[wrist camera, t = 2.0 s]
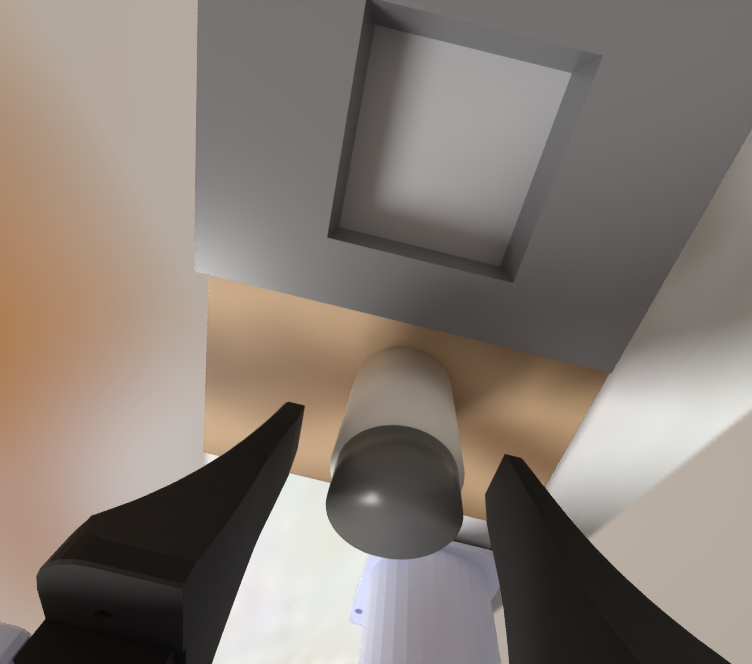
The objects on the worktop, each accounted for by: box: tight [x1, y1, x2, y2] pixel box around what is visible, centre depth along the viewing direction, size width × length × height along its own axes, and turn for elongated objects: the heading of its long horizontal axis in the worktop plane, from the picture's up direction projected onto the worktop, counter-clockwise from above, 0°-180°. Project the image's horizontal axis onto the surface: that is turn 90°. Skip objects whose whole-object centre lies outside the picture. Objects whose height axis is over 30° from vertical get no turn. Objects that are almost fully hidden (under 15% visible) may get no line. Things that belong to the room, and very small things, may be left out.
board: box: [203, 275, 609, 521], centre depth 15 cm, size 24×17×1 cm
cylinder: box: [326, 347, 465, 560], centre depth 14 cm, size 4×4×6 cm
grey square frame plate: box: [194, 0, 752, 373], centre depth 12 cm, size 14×10×3 cm
